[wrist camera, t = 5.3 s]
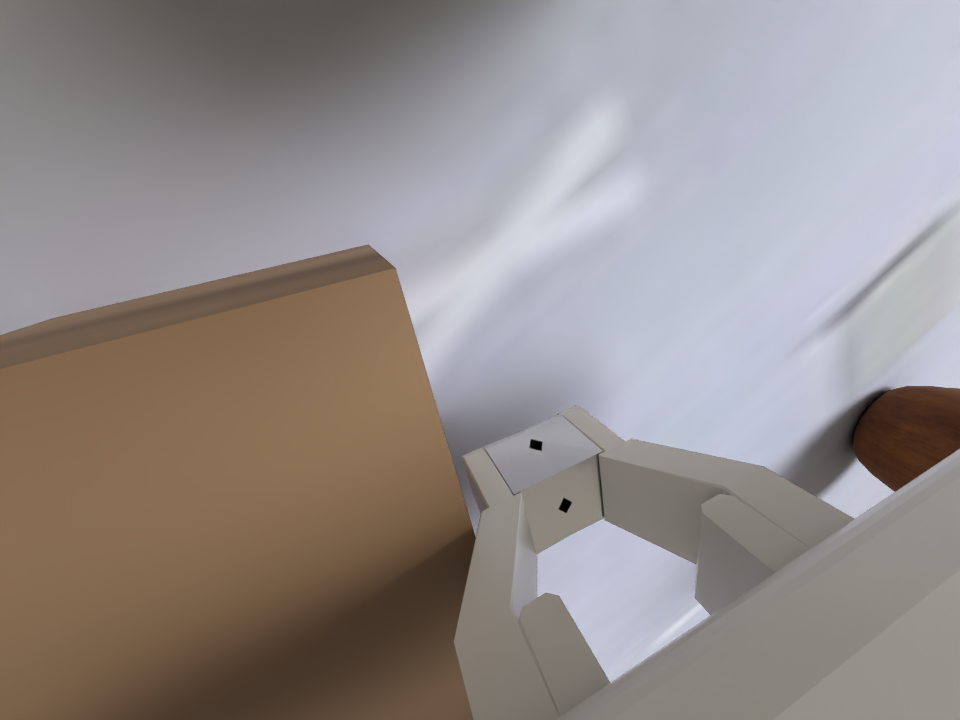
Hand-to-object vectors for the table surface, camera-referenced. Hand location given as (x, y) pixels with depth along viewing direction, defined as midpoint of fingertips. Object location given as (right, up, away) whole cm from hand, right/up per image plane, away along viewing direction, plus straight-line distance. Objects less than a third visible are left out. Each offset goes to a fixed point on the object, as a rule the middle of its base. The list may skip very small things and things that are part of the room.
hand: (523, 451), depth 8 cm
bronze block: (-5, 0, +1) cm, 6 cm away
